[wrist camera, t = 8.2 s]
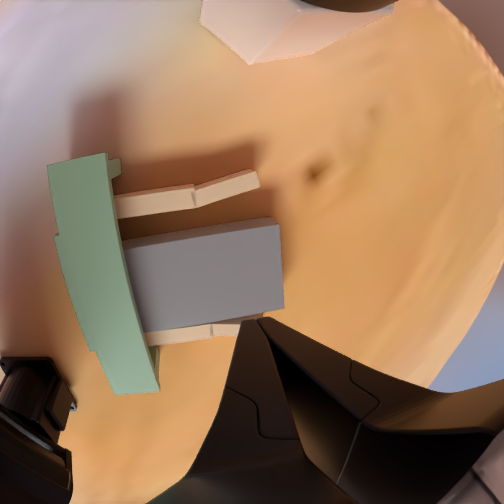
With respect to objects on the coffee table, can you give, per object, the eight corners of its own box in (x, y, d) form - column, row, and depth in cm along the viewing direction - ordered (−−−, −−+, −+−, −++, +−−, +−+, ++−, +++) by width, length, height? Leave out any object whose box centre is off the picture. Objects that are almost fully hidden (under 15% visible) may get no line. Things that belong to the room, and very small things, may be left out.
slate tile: (120, 317, 22) (114, 336, 19) (98, 243, 19) (88, 256, 17) (274, 291, 23) (284, 308, 21) (268, 215, 21) (279, 224, 19)
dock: (114, 363, 22) (108, 395, 19) (63, 162, 17) (39, 167, 13) (263, 344, 24) (275, 373, 21) (250, 134, 19) (265, 133, 15)
